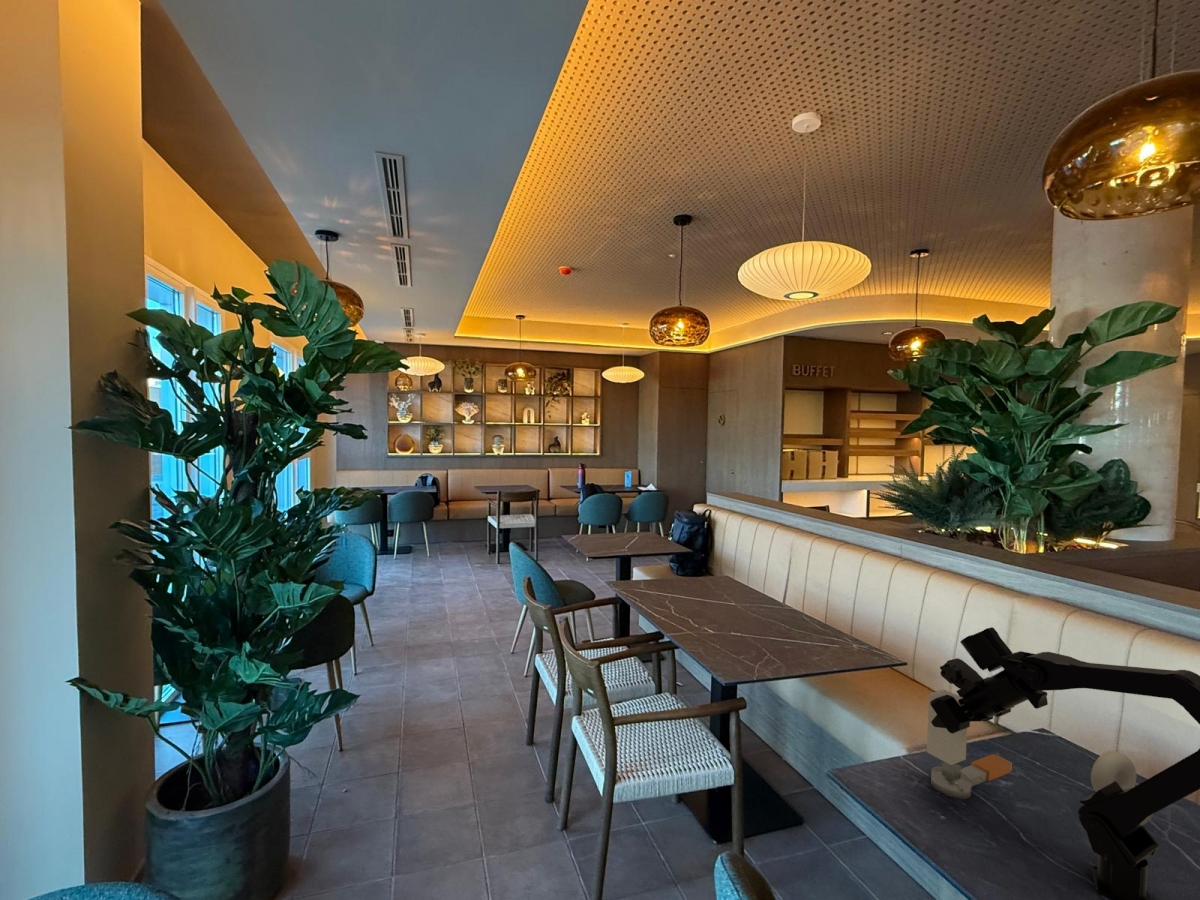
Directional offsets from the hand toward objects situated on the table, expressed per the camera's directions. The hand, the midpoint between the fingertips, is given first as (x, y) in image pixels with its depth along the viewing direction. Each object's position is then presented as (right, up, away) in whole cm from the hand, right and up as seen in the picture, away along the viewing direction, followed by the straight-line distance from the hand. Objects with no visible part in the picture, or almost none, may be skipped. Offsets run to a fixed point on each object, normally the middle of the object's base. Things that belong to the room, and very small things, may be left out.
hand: (940, 721), depth 115 cm
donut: (+33, -15, -4) cm, 36 cm away
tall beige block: (0, -7, -1) cm, 7 cm away
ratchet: (+8, -14, +2) cm, 16 cm away
